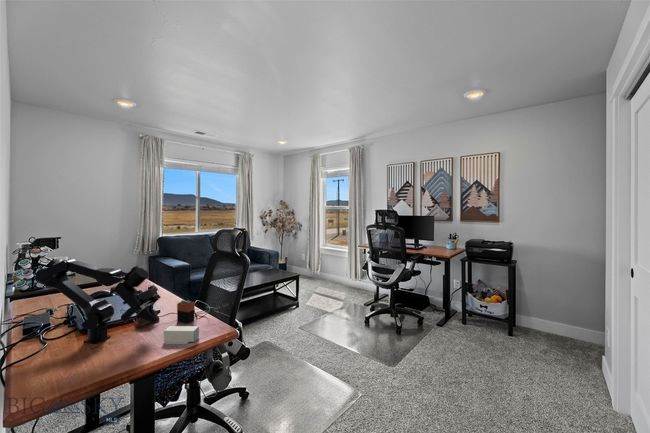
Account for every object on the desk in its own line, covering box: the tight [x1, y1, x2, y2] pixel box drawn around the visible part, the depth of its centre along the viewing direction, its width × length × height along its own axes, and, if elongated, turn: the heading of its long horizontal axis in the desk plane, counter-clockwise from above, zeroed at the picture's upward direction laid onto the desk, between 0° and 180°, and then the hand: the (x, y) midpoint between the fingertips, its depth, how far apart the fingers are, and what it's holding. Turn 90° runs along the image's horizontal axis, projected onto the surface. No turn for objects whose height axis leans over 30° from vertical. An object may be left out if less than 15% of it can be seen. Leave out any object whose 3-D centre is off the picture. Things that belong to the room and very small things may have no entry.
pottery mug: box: [135, 309, 160, 328], centre depth 137 cm, size 12×10×8 cm
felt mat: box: [163, 342, 189, 345], centre depth 121 cm, size 9×7×1 cm
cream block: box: [163, 325, 200, 343], centre depth 121 cm, size 4×4×12 cm
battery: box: [176, 299, 195, 325], centre depth 140 cm, size 4×7×10 cm, turn 69°
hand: (156, 321), depth 120 cm, fingers closed
